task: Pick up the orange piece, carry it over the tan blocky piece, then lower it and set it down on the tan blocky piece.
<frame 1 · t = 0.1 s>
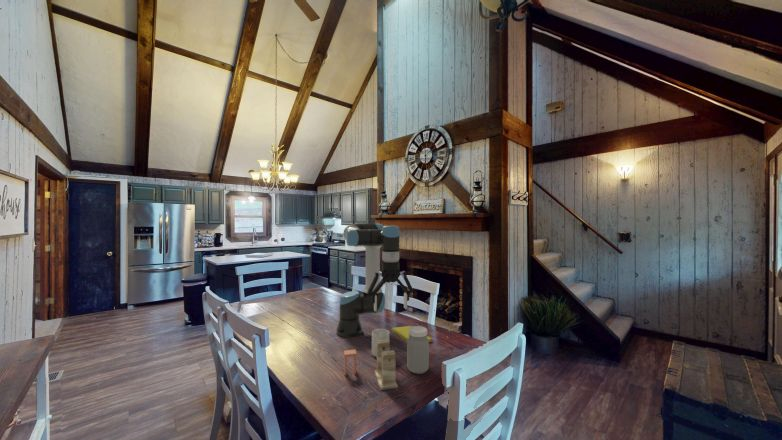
hand: (390, 309, 128), 28 cm above the table, fingers open, 13 cm apart
orange piece: (350, 372, 128), on the table
tan blocky piece: (385, 379, 122), on the table
yellow rectangular slab: (410, 337, 168), on the table
jar: (417, 369, 131), on the table
mug: (381, 353, 146), on the table
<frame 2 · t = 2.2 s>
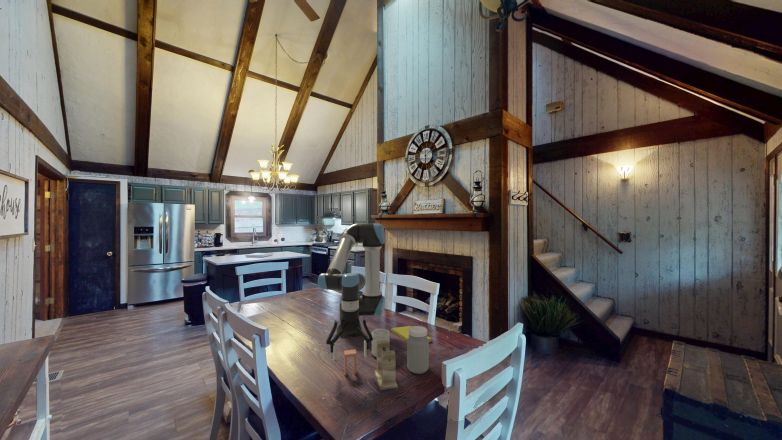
hand: (349, 358, 127), 7 cm above the table, fingers open, 13 cm apart
nothing on the table moved.
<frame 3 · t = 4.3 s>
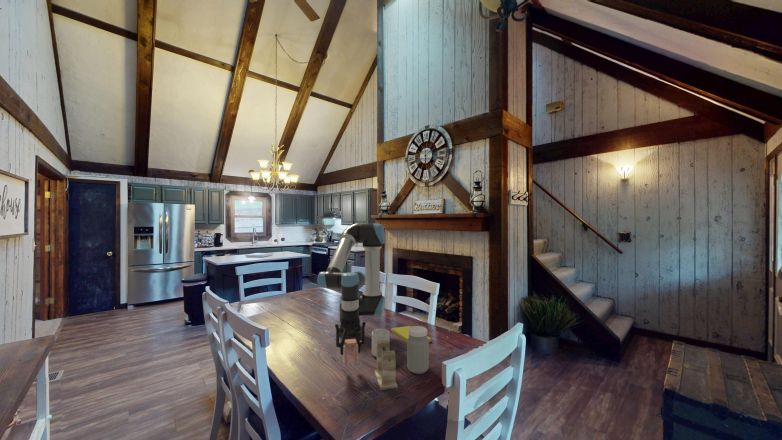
hand: (350, 360, 129), 5 cm above the table, fingers closed on orange piece, 5 cm apart
orange piece: (350, 361, 129), point 5 cm above the table, touching gripper
everything else where it was.
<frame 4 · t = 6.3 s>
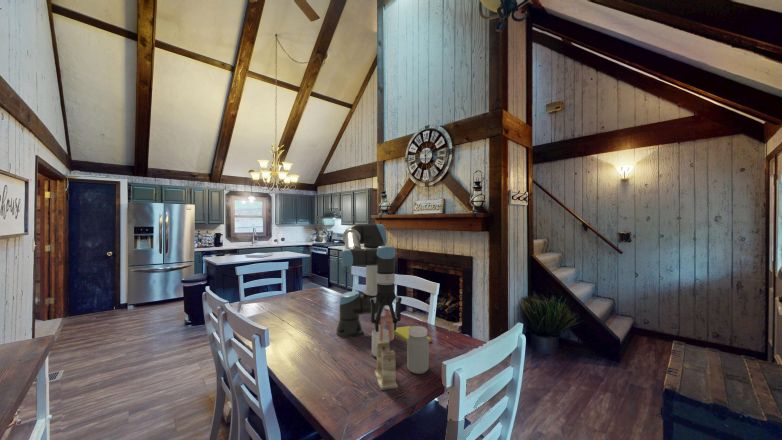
hand: (385, 338, 122), 17 cm above the table, fingers closed on orange piece, 5 cm apart
orange piece: (385, 339, 122), point 17 cm above the table, touching gripper
everything else where it was.
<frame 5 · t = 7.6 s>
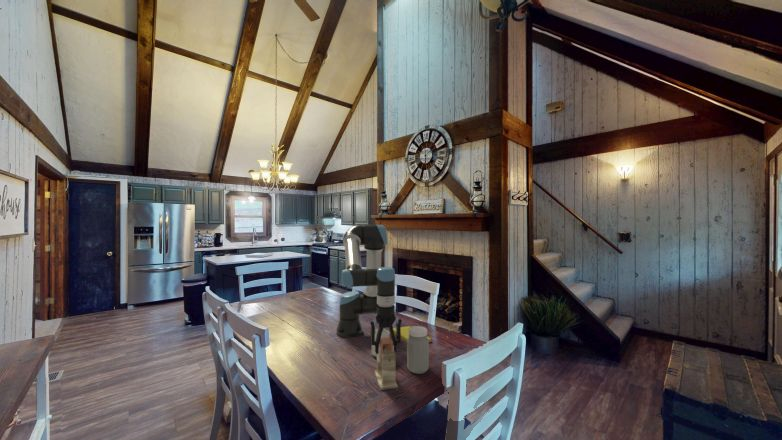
hand: (385, 359, 122), 8 cm above the table, fingers closed on orange piece, 5 cm apart
orange piece: (385, 360, 122), point 8 cm above the table, touching gripper
everything else where it was.
when the fingers open (5 cm above the table, at t = 8.5 s): orange piece stays where it is, resting on tan blocky piece.
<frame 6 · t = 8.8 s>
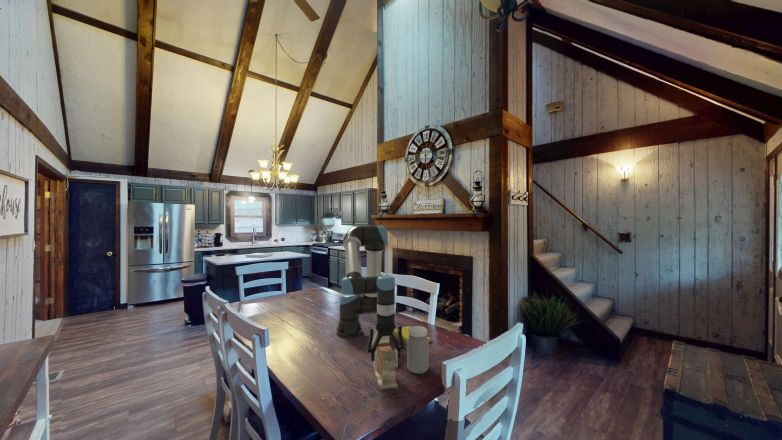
hand: (385, 366, 122), 5 cm above the table, fingers open, 8 cm apart
orange piece: (385, 369, 122), point 4 cm above the table, touching tan blocky piece
everything else where it was.
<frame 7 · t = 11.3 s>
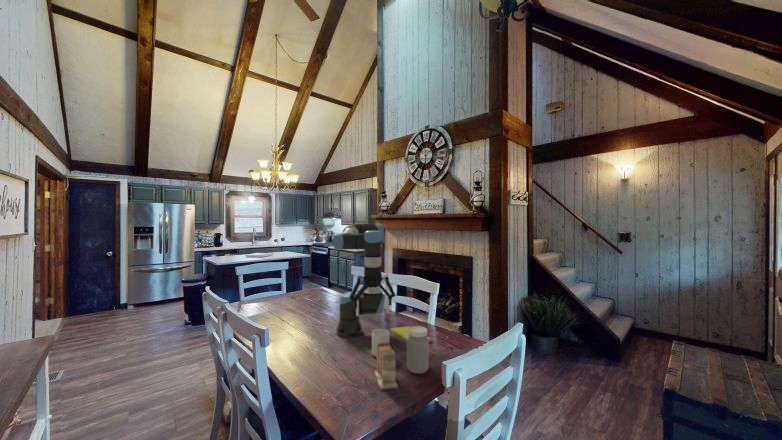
hand: (372, 313, 128), 26 cm above the table, fingers open, 13 cm apart
nothing on the table moved.
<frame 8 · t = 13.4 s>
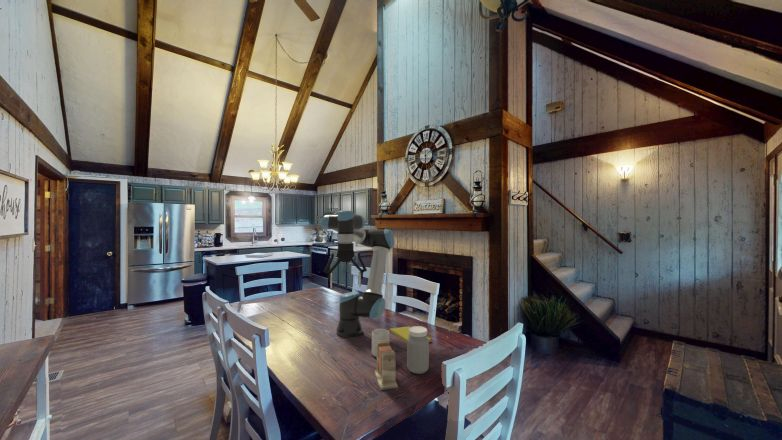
hand: (345, 286, 140), 35 cm above the table, fingers open, 13 cm apart
at the end: orange piece inside the target area on the tan blocky piece (0.0 cm from its centre), point 4.1 cm above the tan blocky piece's base; orange piece touching tan blocky piece; the gripper is holding nothing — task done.
